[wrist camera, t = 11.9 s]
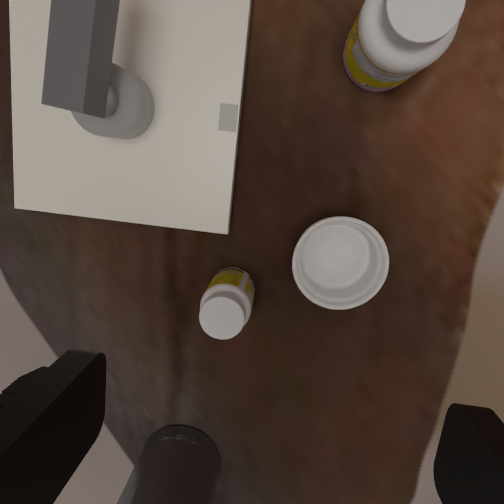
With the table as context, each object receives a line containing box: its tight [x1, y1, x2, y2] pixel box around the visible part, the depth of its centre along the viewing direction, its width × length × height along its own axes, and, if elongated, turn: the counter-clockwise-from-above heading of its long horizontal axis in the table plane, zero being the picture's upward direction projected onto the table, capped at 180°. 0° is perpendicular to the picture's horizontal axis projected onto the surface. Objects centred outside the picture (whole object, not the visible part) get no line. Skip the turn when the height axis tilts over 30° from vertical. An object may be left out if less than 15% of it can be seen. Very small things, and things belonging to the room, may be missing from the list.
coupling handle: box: [41, 0, 120, 118], centre depth 29 cm, size 10×3×6 cm, turn 167°
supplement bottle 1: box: [199, 267, 255, 339], centre depth 39 cm, size 5×5×8 cm
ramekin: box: [292, 216, 389, 310], centre depth 39 cm, size 9×9×4 cm
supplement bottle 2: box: [343, 0, 466, 92], centre depth 30 cm, size 7×7×13 cm
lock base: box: [9, 0, 252, 234], centre depth 36 cm, size 22×22×6 cm
